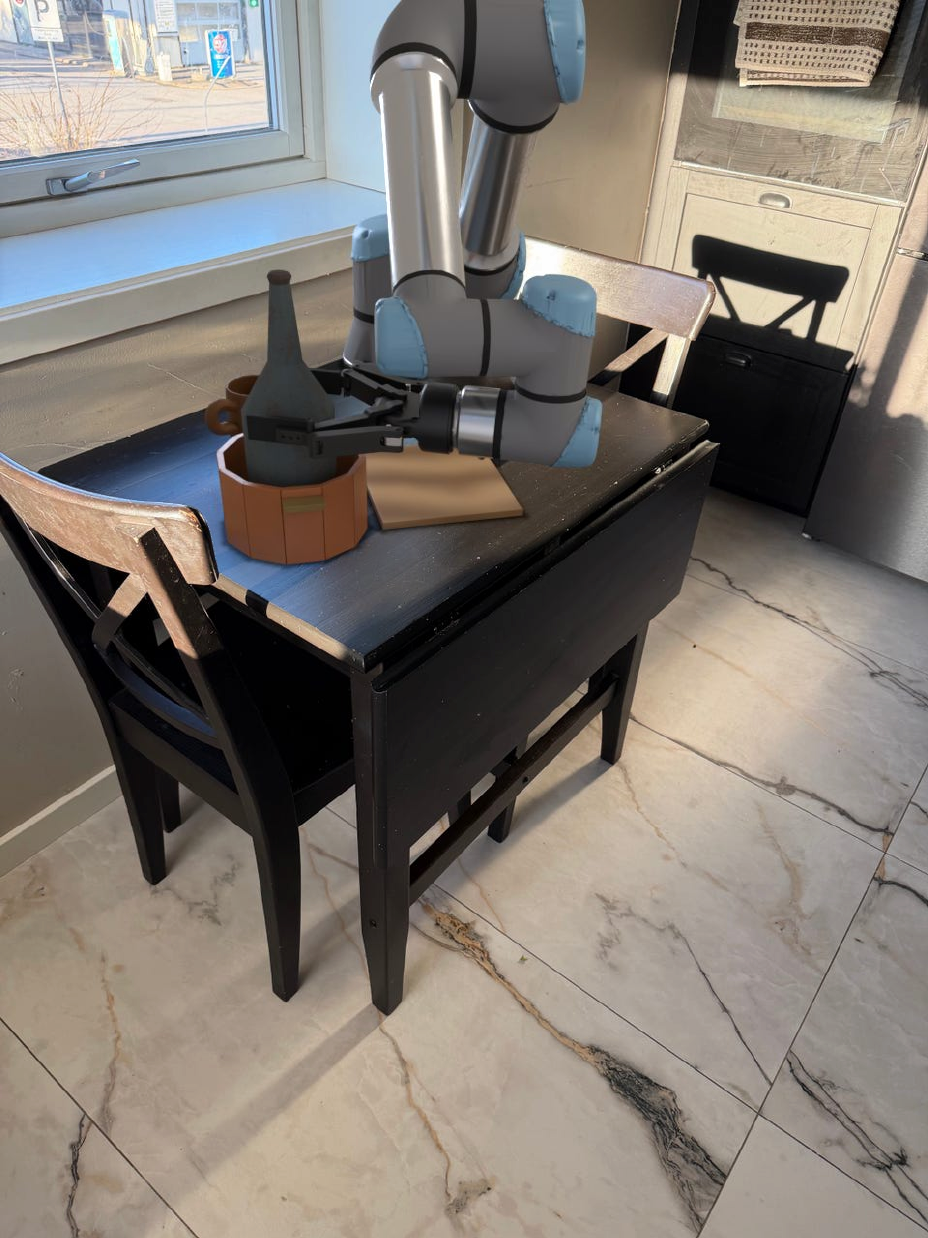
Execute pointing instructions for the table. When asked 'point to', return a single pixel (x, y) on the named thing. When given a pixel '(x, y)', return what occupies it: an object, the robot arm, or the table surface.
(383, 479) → the wooden board
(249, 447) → the bottle
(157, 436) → the table surface
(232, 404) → the mug
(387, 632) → the table surface
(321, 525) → the ice bucket
